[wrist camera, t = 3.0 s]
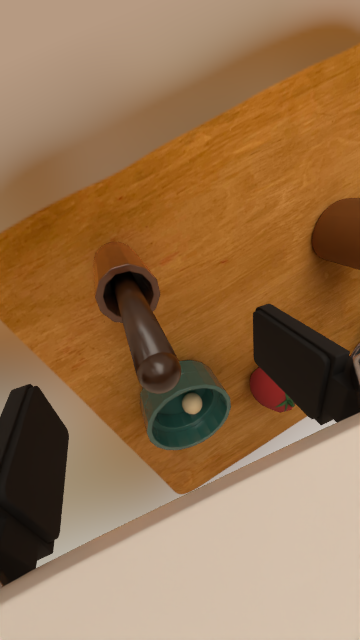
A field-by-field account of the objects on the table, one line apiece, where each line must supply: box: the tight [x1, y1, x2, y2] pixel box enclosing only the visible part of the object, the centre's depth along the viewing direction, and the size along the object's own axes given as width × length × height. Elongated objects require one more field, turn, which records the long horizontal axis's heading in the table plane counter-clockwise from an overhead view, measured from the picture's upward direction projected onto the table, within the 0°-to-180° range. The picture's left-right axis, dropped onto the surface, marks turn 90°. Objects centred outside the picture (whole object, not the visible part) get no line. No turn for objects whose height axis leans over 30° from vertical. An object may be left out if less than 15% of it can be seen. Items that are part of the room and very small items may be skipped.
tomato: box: [250, 367, 295, 413], centre depth 37 cm, size 8×8×7 cm
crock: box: [93, 242, 160, 323], centre depth 20 cm, size 4×4×9 cm
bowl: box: [140, 360, 231, 450], centre depth 33 cm, size 12×12×6 cm
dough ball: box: [182, 393, 202, 414], centre depth 35 cm, size 3×3×3 cm
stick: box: [111, 271, 181, 394], centre depth 16 cm, size 2×2×18 cm
